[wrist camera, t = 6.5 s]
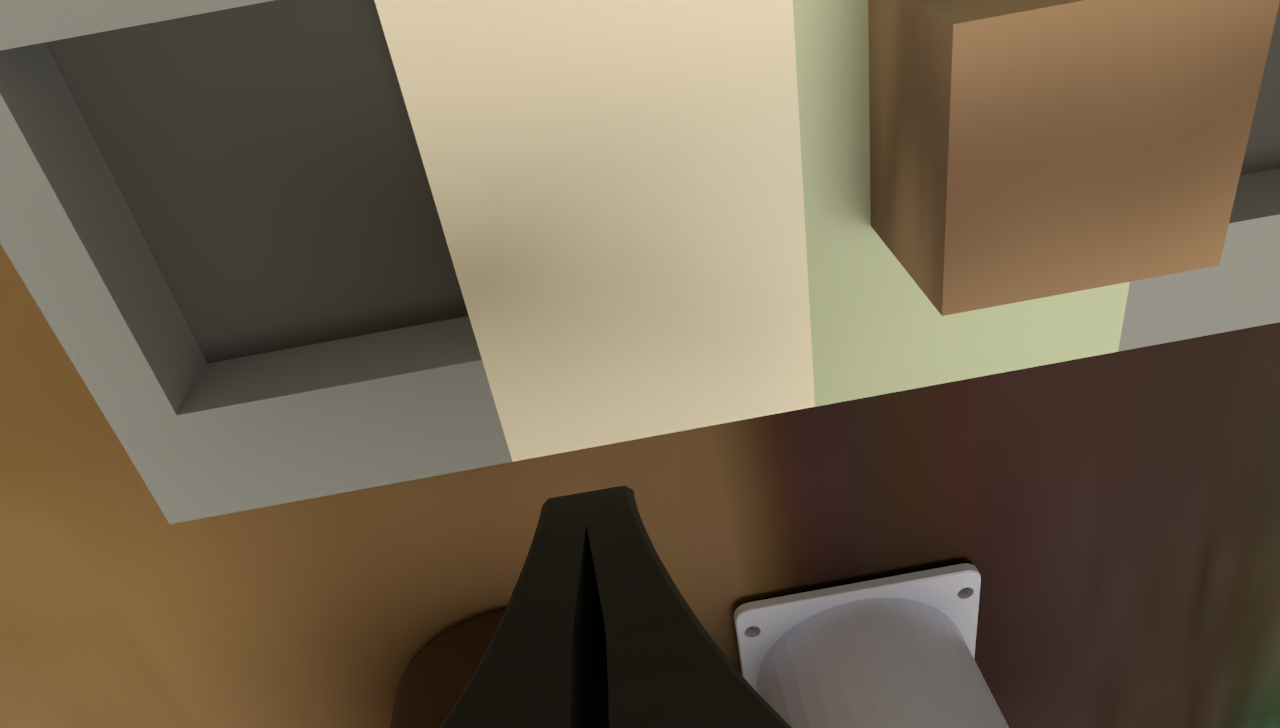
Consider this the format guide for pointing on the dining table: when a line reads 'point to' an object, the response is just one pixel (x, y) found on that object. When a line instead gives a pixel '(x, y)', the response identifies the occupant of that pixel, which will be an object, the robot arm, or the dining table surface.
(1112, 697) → the dining table surface
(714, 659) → the robot arm
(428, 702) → the olive oil
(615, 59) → the trap lane
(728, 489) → the dining table surface
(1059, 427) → the dining table surface
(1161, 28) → the walnut block
